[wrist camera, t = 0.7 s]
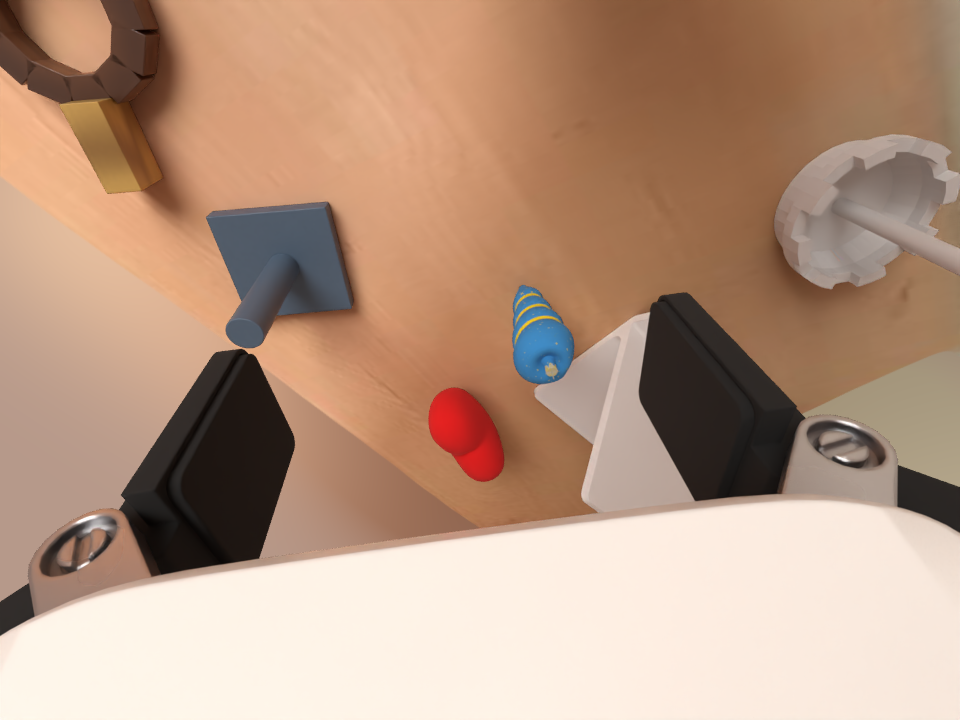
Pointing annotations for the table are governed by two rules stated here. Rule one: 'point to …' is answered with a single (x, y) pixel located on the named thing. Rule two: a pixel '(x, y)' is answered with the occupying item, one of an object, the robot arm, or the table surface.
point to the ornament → (539, 339)
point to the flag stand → (866, 209)
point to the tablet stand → (616, 424)
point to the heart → (466, 433)
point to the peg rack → (280, 265)
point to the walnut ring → (97, 91)
